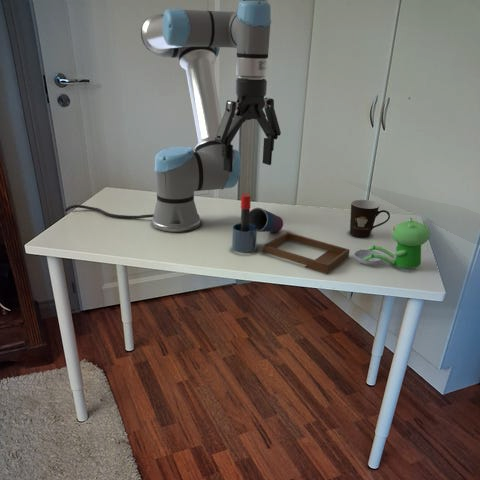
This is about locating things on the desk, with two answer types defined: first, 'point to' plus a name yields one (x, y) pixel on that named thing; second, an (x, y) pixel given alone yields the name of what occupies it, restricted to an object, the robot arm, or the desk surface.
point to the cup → (265, 220)
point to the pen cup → (244, 239)
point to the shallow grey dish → (365, 253)
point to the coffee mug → (364, 217)
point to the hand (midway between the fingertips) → (247, 167)
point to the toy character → (405, 244)
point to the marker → (245, 211)
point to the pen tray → (321, 264)
